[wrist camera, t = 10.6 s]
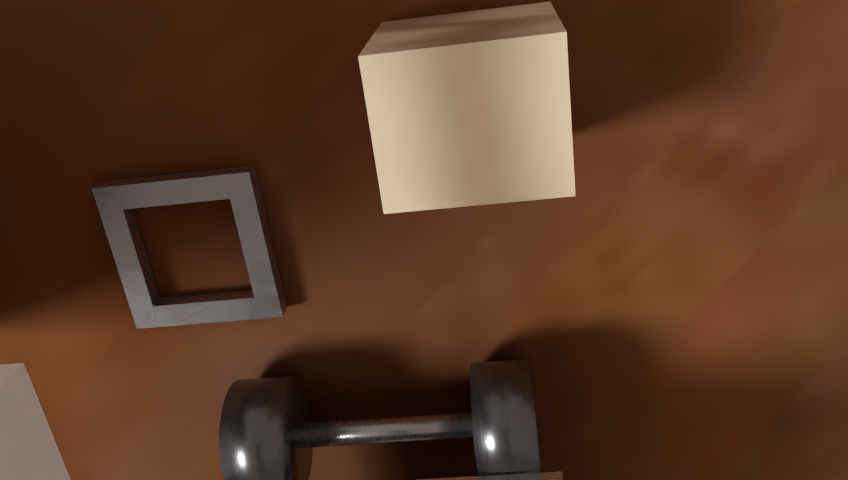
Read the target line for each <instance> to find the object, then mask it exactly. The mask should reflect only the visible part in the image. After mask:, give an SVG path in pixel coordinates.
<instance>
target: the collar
mask: <svg viewBox="0 0 848 480" xmlns="http://www.w3.org/2000/svg"><path fill="white" fill-rule="evenodd" d="M91 189H92V192H93V195H94V198H95V201H96V204H97V207H98V210H99V213H100V216H101V220H102V223H103V226H104V229H105V232H106V235H107V238H108V241H109V244H110V247H111V250H112V254H113V257H114V260H115V263H116V266H117V269H118V272H119V275H120V278H121V281H122V284H123V288H124V291H125V294H126V297H127V300H128V303H129V306H130V309H131V312H132V315H133V318H134V322H135V325H136V328H137V329H141V328H153V327H165V326H177V325H190V324H202V323H214V322H226V321H238V320H251V319H263V318H275V317H283V315H284V313H285V311H286V309H287V304H286V300H285V296H284V291H283V287H282V283H281V278H280V274H279V270H278V265H277V261H276V257H275V252H274V248H273V244H272V239H271V235H270V231H269V226H268V222H267V218H266V213H265V209H264V205H263V200H262V196H261V192H260V187H259V183H258V178H257V174H256V170H255V165H251V166H242V167H232V168H223V169H213V170H204V171H194V172H185V173H175V174H166V175H156V176H147V177H137V178H128V179H118V180H109V181H100V182H99V183H98V184H96V185H95V186H94V187H93V188H91ZM223 199H230V202H231V206H232V210H233V214H234V218H235V222H236V226H237V230H238V234H239V238H240V242H241V246H242V250H243V254H244V258H245V262H246V266H247V270H248V274H249V278H250V282H251V286H252V289H249V290H237V291H226V292H214V293H203V294H191V295H179V296H168V297H160V296H159V292H158V289H157V286H156V282H155V279H154V276H153V273H152V269H151V266H150V263H149V259H148V256H147V253H146V250H145V246H144V243H143V240H142V236H141V233H140V230H139V227H138V223H137V220H136V217H135V213H134V210H133V209H134V208H144V207H154V206H163V205H173V204H183V203H193V202H203V201H213V200H223Z"/></svg>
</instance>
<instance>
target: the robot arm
mask: <svg viewBox="0 0 848 480" xmlns="http://www.w3.org/2000/svg"><path fill="white" fill-rule="evenodd" d="M0 480H70V477H69V475H68V472H67V470H66V467H65V465H64V462H63V460H62V457H61V455H60V452H59V450H58V447H57V445H56V443H55V440H54V438H53V435H52V433H51V430H50V428H49V425H48V423H47V420H46V418H45V415H44V413H43V410H42V408H41V405H40V403H39V400H38V398H37V395H36V393H35V390H34V388H33V385H32V383H31V380H30V378H29V375H28V373H27V370H26V368H25V365H24V363H18V364H4V365H0Z"/></svg>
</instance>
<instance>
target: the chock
mask: <svg viewBox="0 0 848 480" xmlns="http://www.w3.org/2000/svg"><path fill="white" fill-rule="evenodd" d="M358 59H359V65H360V71H361V77H362V83H363V90H364V96H365V102H366V108H367V114H368V120H369V127H370V133H371V139H372V145H373V151H374V158H375V164H376V170H377V176H378V182H379V188H380V195H381V201H382V207H383V213H384V214H390V213H401V212H411V211H422V210H433V209H443V208H454V207H465V206H475V205H486V204H497V203H507V202H518V201H529V200H539V199H550V198H561V197H571V196H575V178H574V159H573V141H572V122H571V103H570V84H569V66H568V47H567V31H566V29H565V28H564V26H563V24H562V22H561V20H560V18H559V17H558V15H557V13H556V11H555V9H554V7H553V6H552V4H551V2H542V3H534V4H525V5H517V6H509V7H501V8H493V9H484V10H476V11H468V12H460V13H452V14H444V15H435V16H427V17H419V18H411V19H403V20H394V21H386V22H381V24H380V25H379V27H378V28H377V30H376V31H375V32H374V34H373V35H372V37H371V38H370V40H369V41H368V43H367V44H366V45H365V47H364V48H363V50H362V51H361V53H360V54H359V56H358Z"/></svg>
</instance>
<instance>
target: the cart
mask: <svg viewBox="0 0 848 480" xmlns="http://www.w3.org/2000/svg"><path fill="white" fill-rule="evenodd" d="M470 387H471V411H472V412H469V413H453V414H438V415H423V416H408V417H393V418H377V419H362V420H347V421H332V422H316V423H312V418H311V411H310V405H309V400H308V396H307V393H306V390H305V387H304V385H303V383H302V381H301V380H300V379H299V378H298V377H297V376H286V377H272V378H259V379H245V380H237V381H235V382H234V383H233V384H232V385H231V387H230V388H229V390H228V392H227V395H226V397H225V400H224V404H223V408H222V413H221V420H220V430H219V451H220V462H221V468H222V474H223V477H224V480H309V476H310V471H311V464H312V451H313V447H325V446H342V445H358V444H374V443H390V442H406V441H422V440H438V439H455V438H471V437H473V438H474V448H475V458H476V466H477V473H478V476H471V477H453V478H435V479H417V480H563V474H562V471H559V472H542V473H541V469H540V458H539V446H538V435H537V425H536V414H535V403H534V393H533V382H532V372H531V362H530V359H520V360H506V361H492V362H478V363H471V371H470Z"/></svg>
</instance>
